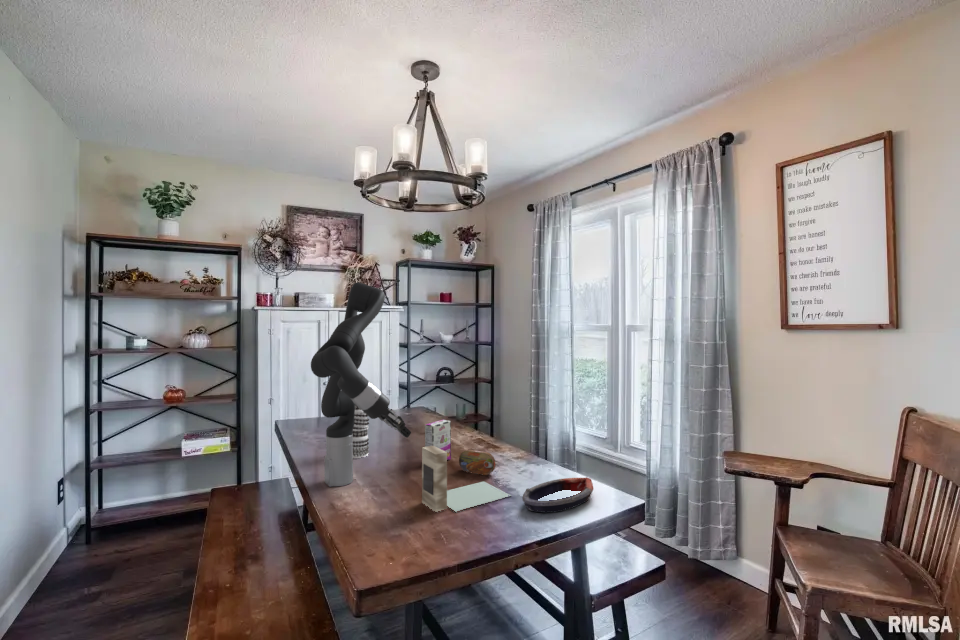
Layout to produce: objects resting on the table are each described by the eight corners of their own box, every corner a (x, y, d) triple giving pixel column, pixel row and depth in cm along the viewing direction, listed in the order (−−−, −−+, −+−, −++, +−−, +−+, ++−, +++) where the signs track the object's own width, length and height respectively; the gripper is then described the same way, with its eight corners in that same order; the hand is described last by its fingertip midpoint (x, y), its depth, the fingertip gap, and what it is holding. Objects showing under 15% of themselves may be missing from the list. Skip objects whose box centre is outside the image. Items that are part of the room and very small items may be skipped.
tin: (458, 470, 179) (458, 449, 179) (462, 468, 182) (462, 447, 182) (492, 477, 172) (492, 454, 172) (496, 474, 175) (496, 452, 175)
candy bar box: (442, 457, 196) (442, 419, 196) (451, 459, 193) (451, 420, 193) (424, 464, 187) (424, 424, 187) (433, 466, 184) (433, 425, 184)
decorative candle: (366, 458, 194) (366, 399, 194) (344, 458, 194) (344, 399, 194) (372, 452, 203) (372, 396, 203) (351, 452, 203) (351, 395, 203)
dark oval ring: (509, 505, 147) (509, 489, 147) (574, 484, 165) (574, 470, 165) (543, 523, 135) (543, 506, 135) (610, 498, 153) (610, 483, 153)
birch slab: (434, 513, 141) (434, 454, 141) (421, 503, 148) (421, 447, 148) (446, 509, 143) (447, 452, 143) (432, 500, 151) (432, 445, 151)
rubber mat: (455, 512, 141) (455, 511, 141) (430, 495, 154) (430, 494, 154) (511, 496, 154) (511, 495, 154) (483, 482, 167) (483, 481, 167)
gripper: (387, 391, 130) (426, 429, 137) (369, 386, 140) (406, 421, 147) (370, 413, 126) (410, 449, 134) (352, 406, 137) (391, 440, 144)
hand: (408, 434), depth 141 cm, fingers closed
